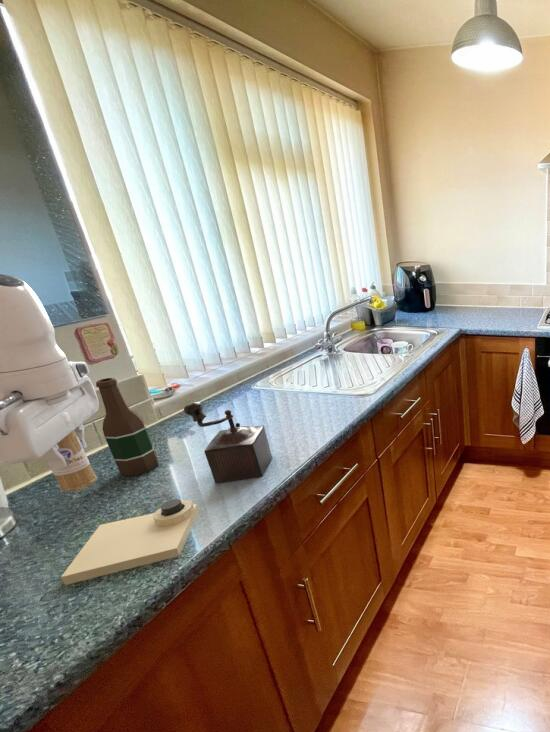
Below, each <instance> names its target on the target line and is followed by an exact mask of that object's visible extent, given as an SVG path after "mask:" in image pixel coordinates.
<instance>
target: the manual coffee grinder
mask: <svg viewBox="0 0 550 732" xmlns="http://www.w3.org/2000/svg"><path fill="white" fill-rule="evenodd" d="M203 409H204V405H203V404H202V403H201V402H200V401H195V400H194V401H191V402H187V403H186V405H184V406H183V413H184V414H186V415H188V416H190V417H192V418H193V419H192V422H194V423H195V422H196V423H197V425H198V427H201V428H206V427H210V426H214V425H215V426H216V425H218V424H221V423H224V422H226V421H228V424H229V428H228V429H221V430H219V431H218V432H217V433H216V435H214V437H213V438H212V440H211V441H210V442H209V443H208V445H207V446H206V447H205V449H204V451H203V452H204V455H205V457H206V461H207V463H208V466H209V470H210V471H211V475H212V478H213V481H214V484H217V485H218V484H226V483H231V482H232V483H233V482H240V481H245V480H251V479H257V478H262V477H264V475H265V473H266V471H267V470H268V467H269V465H270V463H271V462H272V459H273V454H272V452H271V447H270V443H269V439H268V436H267V432H266V428H265V425H263V424H262V425H254V426H251V425H241V423H239V422H237V423H234V420H233V419H234V415H233V414H232V411H231V410H230V409H226V410H225V411H224V415H225V417H223V418H220V419H216V420H213V421H212V420H211V421H209V422H208V421H207V422H204V420H205V419H206V418H207V415H206V414H205V413H204V412H203Z"/></svg>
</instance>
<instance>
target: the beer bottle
mask: <svg viewBox="0 0 550 732" xmlns="http://www.w3.org/2000/svg"><path fill="white" fill-rule="evenodd" d="M95 386H96V388H98V390H99V393H100V396H101V400H102V402H103V406H104V409H105V416H104V418H103V421H102V434H103V437H104V438H105V442H106V444H107V445H108V448H109V451H110V454H111V456H112V457H113V460H114V462H115V464H116V467H117V469H118V471H119V473H120V475H121V476H123V477H135V476H139V475H143V474H146V473H148V472H151V471H152V470H154V469H155V468H157V467H158V466H159V458H158V455H157V452H156V449H155V446H154V444H153V441H152V438H151V436H150V433H149V430H148V428H147V425H146V422H145V421H144V418H143V416H141V415H140V414H139V412H138V411H136V410H134V409H133V408H130V406H129V405H128V404H127V402H126V400H125V398H124V396H123V393H122V392H121V390H120V388H119V385H118V380H117V379H116V378H115V377H106V378H100V379H98V380H96V381H95Z"/></svg>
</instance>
